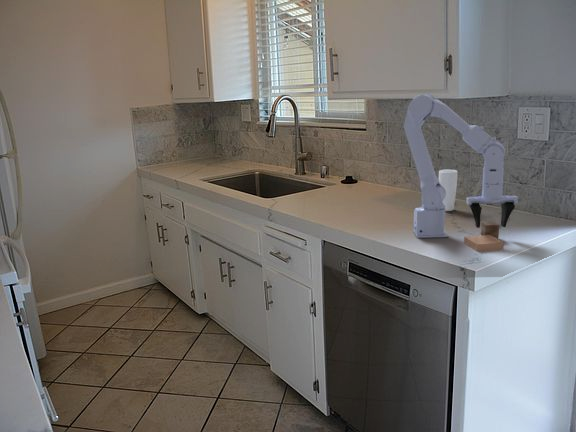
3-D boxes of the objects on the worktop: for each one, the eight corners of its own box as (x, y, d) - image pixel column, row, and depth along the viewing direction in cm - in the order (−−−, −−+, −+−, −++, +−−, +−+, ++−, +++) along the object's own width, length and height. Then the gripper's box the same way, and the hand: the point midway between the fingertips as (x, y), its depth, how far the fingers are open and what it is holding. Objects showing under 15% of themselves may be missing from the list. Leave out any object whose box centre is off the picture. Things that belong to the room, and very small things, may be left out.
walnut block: (484, 241, 157) (485, 225, 156) (480, 237, 161) (481, 221, 160) (498, 240, 157) (499, 224, 155) (493, 237, 161) (494, 221, 159)
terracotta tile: (476, 252, 148) (477, 244, 147) (463, 244, 156) (464, 236, 155) (502, 250, 149) (503, 242, 148) (489, 242, 157) (489, 234, 156)
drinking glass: (452, 207, 199) (454, 168, 195) (458, 211, 193) (460, 171, 189) (435, 208, 199) (436, 169, 195) (440, 212, 192) (442, 172, 189)
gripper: (471, 186, 151) (469, 230, 154) (522, 184, 150) (519, 229, 153) (465, 181, 158) (463, 224, 161) (513, 180, 157) (511, 223, 160)
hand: (490, 226), depth 158 cm, fingers open, 7 cm apart
